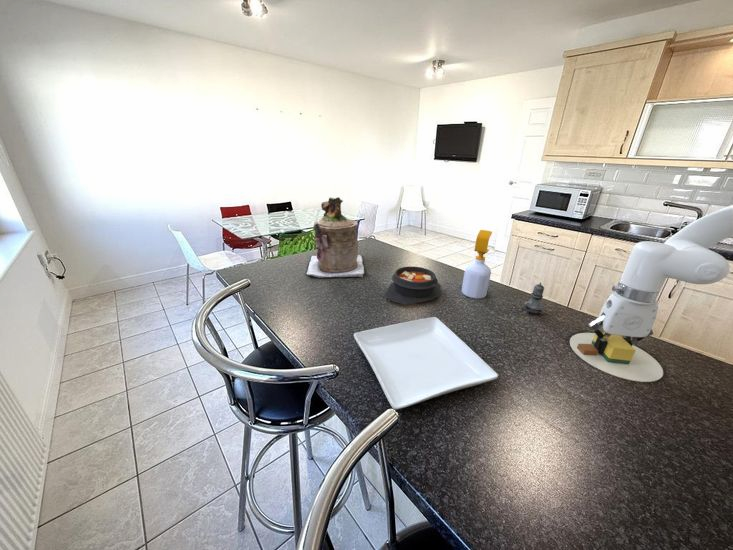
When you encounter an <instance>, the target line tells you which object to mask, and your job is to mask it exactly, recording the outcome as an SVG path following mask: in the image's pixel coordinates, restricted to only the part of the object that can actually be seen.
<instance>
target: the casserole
mask: <svg viewBox="0 0 733 550" xmlns="http://www.w3.org/2000/svg"><path fill="white" fill-rule="evenodd" d="M391 280H392V282H391V283H390V285H389V286H388V289H387V290H386V291H385V293H384V296H385V297H386V298H388V299H389V300H391V301H392V302H396V303H398V304H402V305H413V304H416V303H420V302H421V303H422V302H427V301H432V300H433V299H436V298H437V297H438V296H439V294H440V293H439V291H440V288H441V284H440V283H439V280H438V279H437V276H436V273H435V272H433V271H432V270H431V269H428V268H425V267H420V266H411V265H410V266H402V267H399V268H397V269H396V270H395V271H394V273H393V274H392V275H391Z"/></svg>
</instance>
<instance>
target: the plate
mask: <svg viewBox="0 0 733 550" xmlns="http://www.w3.org/2000/svg"><path fill="white" fill-rule="evenodd" d="M594 336H595V332H579V333H575V334H574V335H572V336H571V337H570V339H569V345H570V348H571V349H572V351H573V352H574V353H575V354H576V355H577V356H578V357H579V358H580V359H581V360H583V361H585V362H586V363H588V364H589V365H591V366H593V368H596V369H598V370H600V371H602V372H604V373H607V374H608V375H612V376H614V377H618V378H620V379H623V380H629V381H633V382H634V381H635V382H641V383H649V382H650V383H651V382H656V381H658V380H661V378H662V377H664V370H663V367H662V366H661V364H660V363H659V362H658V360H656V359H655V357H653V356H652V355H650V354H649V353H647V352H646V351H645V350H643V349H641V348H639V347H638V346H636V345H632V347H633V348H634V349H635V350H636V351H635V353H634V355H633V357H632V359H631V361H630V363H629V364H620V363H612V362H607V361H606V360H605V358H604V357H603V356H602V355H601V354H599V352H598V354H597V355H583V354H582V353H581V352H580V351H579V350H578V349H577V346H578V344H592V341H593V338H594Z"/></svg>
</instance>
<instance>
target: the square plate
mask: <svg viewBox="0 0 733 550" xmlns="http://www.w3.org/2000/svg"><path fill="white" fill-rule="evenodd" d="M353 338H354V341H356V343H357V345H358V347H359V348H360V350H361V351H362V353H363V355H364V356H365V358H366V360H367V362H368V363H369V365H370V367H371V369H372V371H373V373H374V374H375V377H376V379H377V381H378V382H379V385H380V387H381V389H382V391H383V393H384V395H385V397H386V400H387V402H388V403H389V405H390V406H391V409H393V410H401V409H404V408H407V407H410V406H414V405H416V404H419V403H422V402H426V401H427V400H430V399H434V398H437V397H439V396H442V395H446V394H449V393H452V392H455V391H459V390H463V389H466V388H470V387H475V386H477V385H481V384H482V385H483V384H485V383H488V382H491V381H494V380H496V379H498V377H499V374H498V372H496V370H494V369H493V368H492V367H490V365H489V364H488V363H486V362H485V361H484V359H482V358H481V357H480V356H479V355H478V354H477V353H476V352H475V351H474V350H473V349H472V348H470V346H469V345H467V344H466V343H465V342H464V341H463V340H462V339H461V338H460V337H459V336H458V335H457V334H455V333H454V332H453V331H452V330H451V329H450V328H449V327H448V326H447V325H446V324H445V323H444V322H443V321H442V320H440V319H439V318H438V317H436V316H432V317H427V318H426V317H425V318H421V319H414V320H409V321H405V322H404V321H403V322H400V323H395V324H389V325H384V326H380V327H376V328H370V329H367V330H366V329H365V330H361V331H358V332H354V333H353Z"/></svg>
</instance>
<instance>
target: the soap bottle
mask: <svg viewBox="0 0 733 550" xmlns="http://www.w3.org/2000/svg"><path fill="white" fill-rule="evenodd" d="M492 235H493V232H492V230H486V229H480V230H479V232H478V233H477V236H476V240H475V244H474V252H476V253H477V254H478V255H476V256H475V259H474V262H471V263H469V264H467V265H466V267H465V268H464V273H463V279H462V285H461V293H462V294H463V295H464V296H465V297H468V298H471V299H478V300H479V299H484V298H486V296H487V293H488V290H489V285H490V280H491V275H492V271H491V270H492V269H491V268H490V267H489V266H488V265H487V264H486V263H485V262H486V256H484V255H485V254H488V252H489V251H490V249H489V248H488V246H489V241H490V238H491V236H492Z"/></svg>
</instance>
